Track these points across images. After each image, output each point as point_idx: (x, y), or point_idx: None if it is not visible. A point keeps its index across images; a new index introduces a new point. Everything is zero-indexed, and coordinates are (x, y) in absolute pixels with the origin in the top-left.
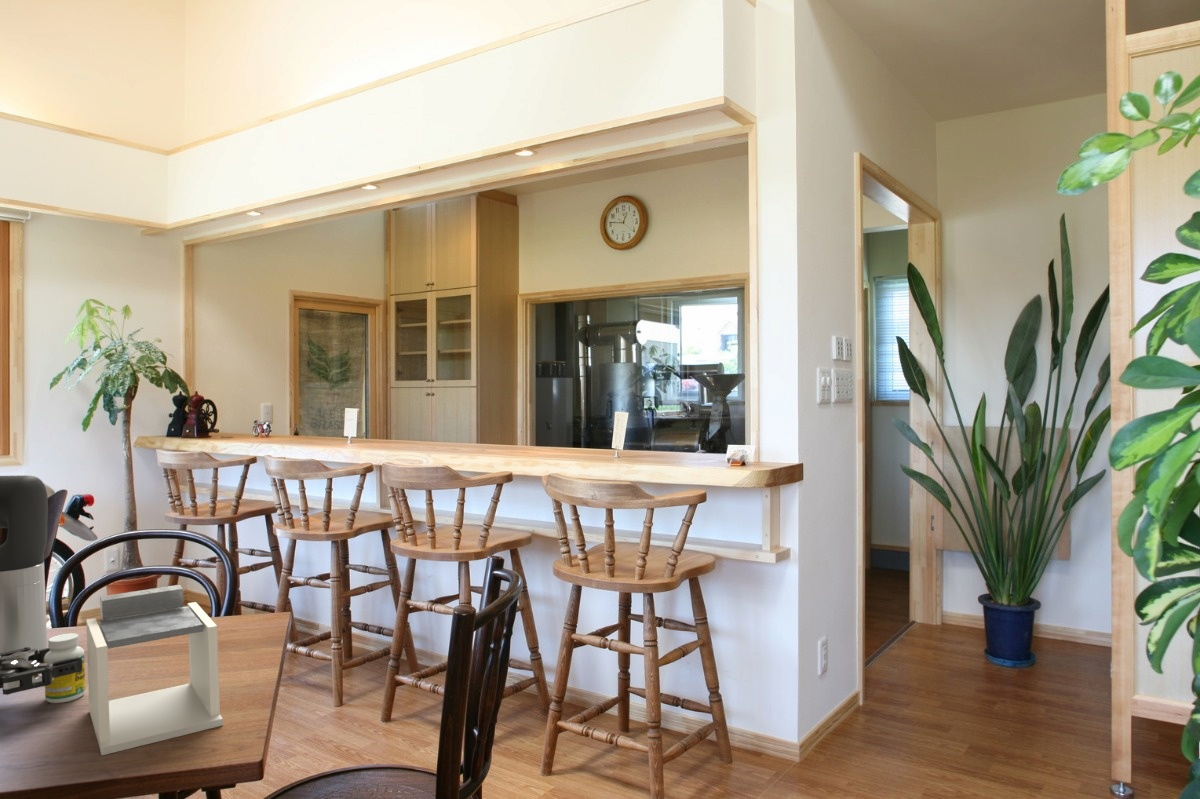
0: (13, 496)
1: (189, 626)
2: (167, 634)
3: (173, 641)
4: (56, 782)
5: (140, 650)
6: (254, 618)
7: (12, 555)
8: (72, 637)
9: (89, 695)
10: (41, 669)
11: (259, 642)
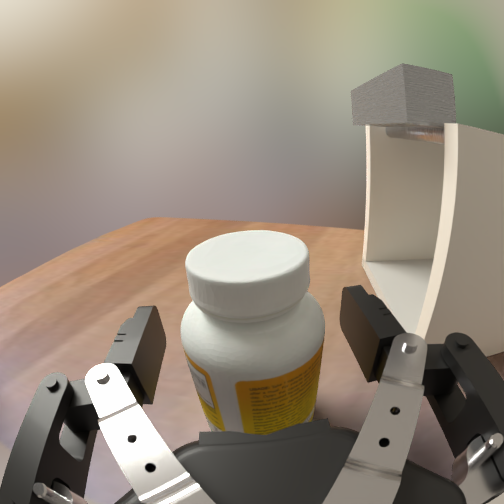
0: None
1: None
2: None
3: (114, 267)
4: None
5: (101, 291)
6: (133, 226)
7: None
8: (279, 237)
9: (441, 337)
10: (470, 355)
11: (220, 227)
